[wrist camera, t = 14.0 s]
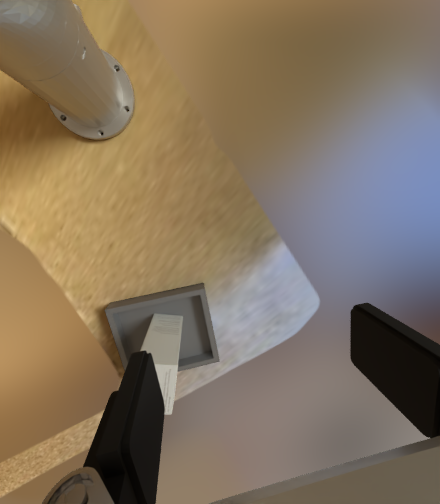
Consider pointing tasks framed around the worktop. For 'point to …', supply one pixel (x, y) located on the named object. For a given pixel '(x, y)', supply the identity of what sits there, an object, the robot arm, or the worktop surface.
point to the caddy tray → (171, 303)
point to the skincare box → (165, 353)
